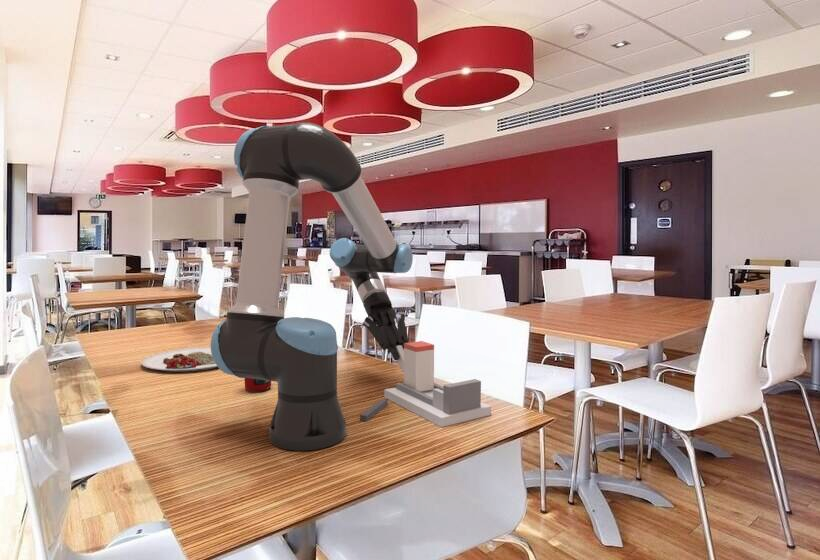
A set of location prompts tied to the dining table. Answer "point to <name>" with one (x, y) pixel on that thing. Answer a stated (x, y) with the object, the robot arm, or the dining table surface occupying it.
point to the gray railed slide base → (442, 402)
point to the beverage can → (257, 384)
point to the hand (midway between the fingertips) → (406, 369)
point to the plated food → (181, 360)
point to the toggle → (419, 365)
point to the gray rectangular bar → (373, 410)
